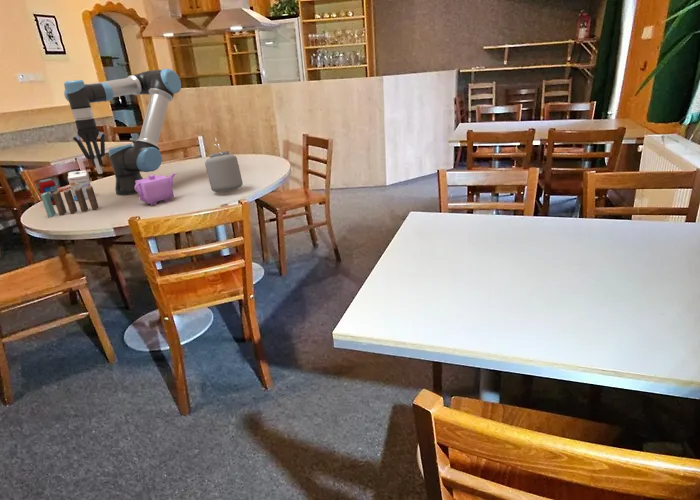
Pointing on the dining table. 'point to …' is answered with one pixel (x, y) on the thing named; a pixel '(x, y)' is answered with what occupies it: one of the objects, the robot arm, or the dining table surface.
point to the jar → (223, 171)
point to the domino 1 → (48, 204)
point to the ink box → (79, 182)
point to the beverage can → (48, 188)
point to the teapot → (155, 188)
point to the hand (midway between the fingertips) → (100, 173)
